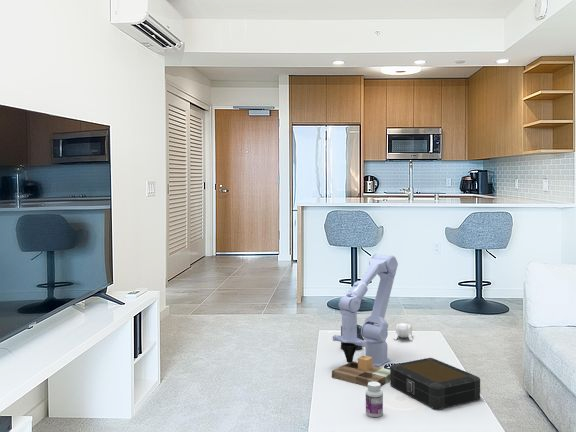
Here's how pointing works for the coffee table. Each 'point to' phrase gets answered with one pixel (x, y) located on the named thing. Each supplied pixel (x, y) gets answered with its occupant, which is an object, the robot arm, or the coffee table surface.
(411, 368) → the cash box
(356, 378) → the trap board
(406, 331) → the white rounded figure
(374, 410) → the pill bottle
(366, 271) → the robot arm
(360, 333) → the box
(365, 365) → the block
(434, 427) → the coffee table surface
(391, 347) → the coffee table surface
